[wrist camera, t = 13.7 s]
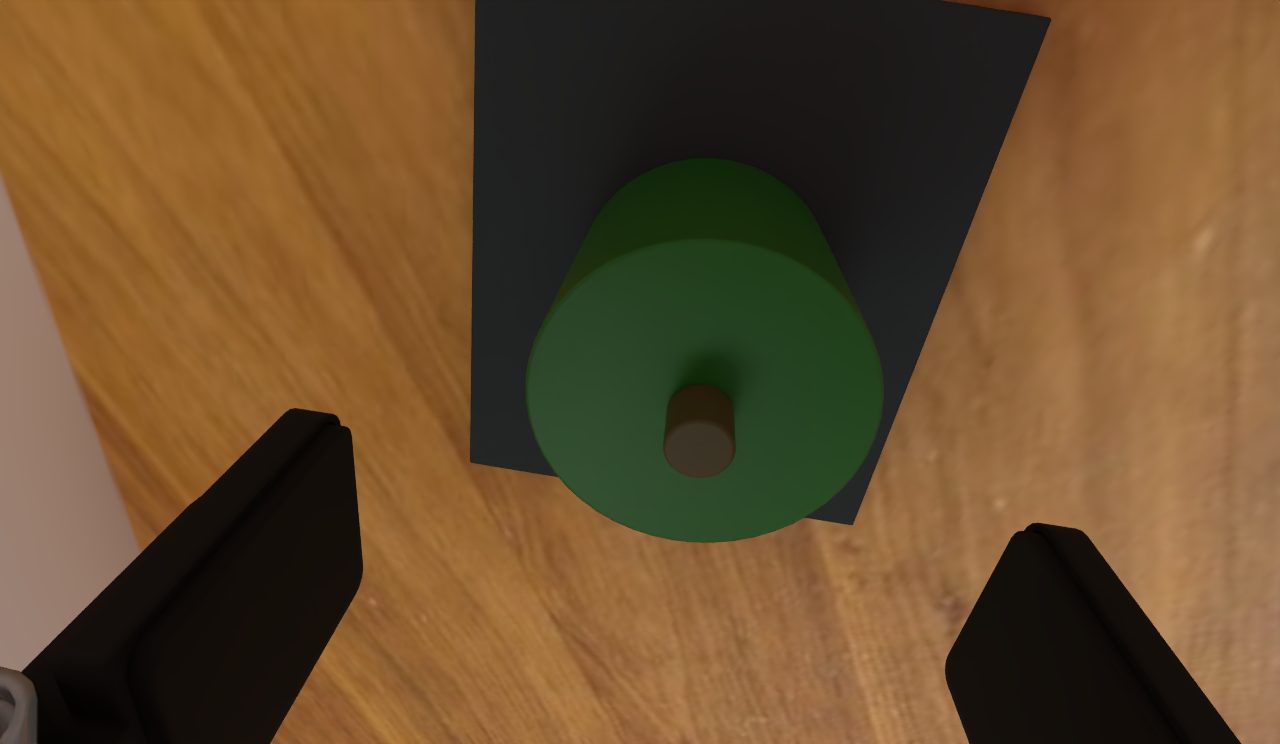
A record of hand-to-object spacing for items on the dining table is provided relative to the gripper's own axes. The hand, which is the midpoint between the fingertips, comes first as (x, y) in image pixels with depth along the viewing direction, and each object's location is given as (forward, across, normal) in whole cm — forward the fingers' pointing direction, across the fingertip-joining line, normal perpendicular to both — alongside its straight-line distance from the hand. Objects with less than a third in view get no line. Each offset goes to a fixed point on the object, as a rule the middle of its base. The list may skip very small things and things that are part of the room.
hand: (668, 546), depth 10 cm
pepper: (+9, 0, -1) cm, 9 cm away
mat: (+10, 0, 0) cm, 10 cm away
